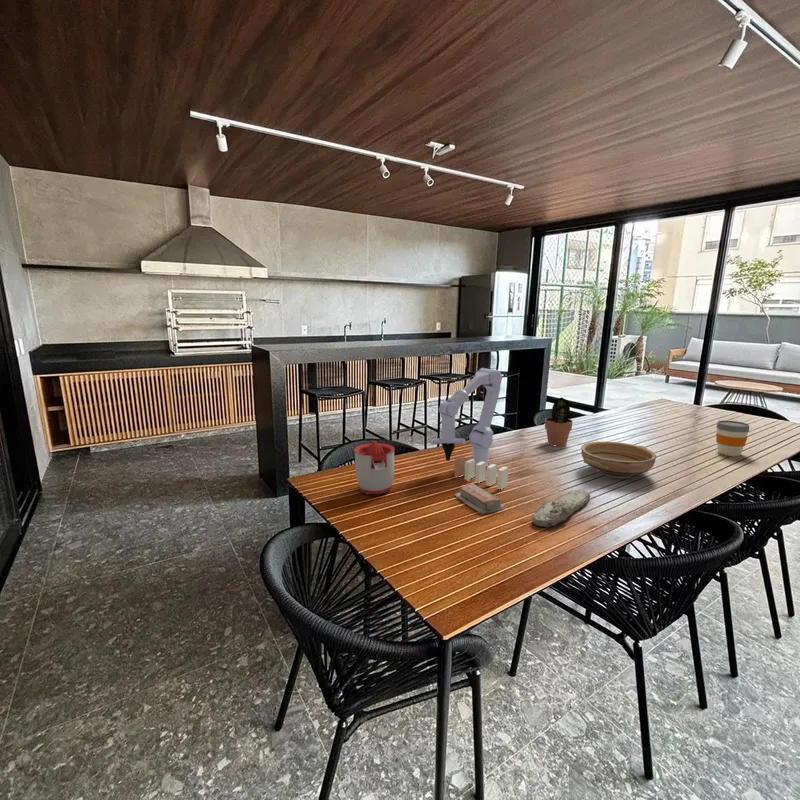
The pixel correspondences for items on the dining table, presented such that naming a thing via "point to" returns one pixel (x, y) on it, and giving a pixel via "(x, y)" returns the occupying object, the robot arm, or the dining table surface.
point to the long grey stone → (560, 508)
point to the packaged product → (479, 499)
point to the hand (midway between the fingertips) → (447, 460)
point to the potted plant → (559, 423)
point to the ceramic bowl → (618, 458)
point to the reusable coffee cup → (731, 437)
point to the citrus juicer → (374, 467)
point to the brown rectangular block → (459, 466)
